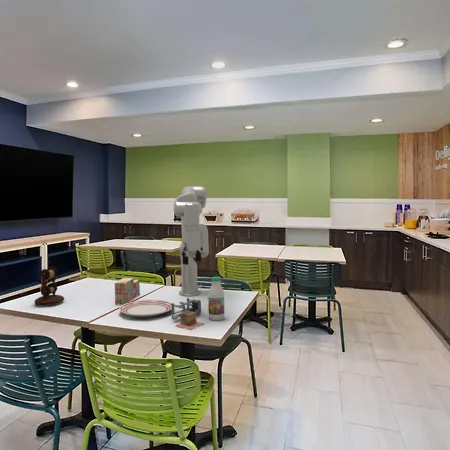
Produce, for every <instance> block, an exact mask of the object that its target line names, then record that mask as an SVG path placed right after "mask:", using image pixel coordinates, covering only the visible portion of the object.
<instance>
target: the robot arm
mask: <svg viewBox="0 0 450 450" xmlns="http://www.w3.org/2000/svg"><path fill="white" fill-rule="evenodd" d="M207 198H208V192H207V189H206V188H205V187H204V186H201V185H200V186H199V185H198V186H196V185H195V186H194V185H189V186H185V187H183V188H182V190H181V194H180V195H178V196H177V197H176V198H175V199H174V202H173V212H174V215H175V216H176V217H177V218H180V219H181V221H180V222H181V224H180V225H181V244H179V248H178V250H179V257H180V266H181V267H180V270H181V271H180V272H181V290H180V291H179V292H178V295H180V296H183V297H193V296H194V297H195V296H198V295H200V294H201V291H200V290H199V289H201V288H202V284H199V285H198V264H197V262H202V258H206V257H208V256H209V253H210V252H209V250H210V249H209V246H210V245H209V230H208V227H207V224H205V223H200V216H201V214H202V213H203V209H204V208H206V205H207ZM194 259H195V260H194Z"/></svg>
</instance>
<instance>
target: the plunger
mask: <svg viewBox="0 0 450 450" xmlns="http://www.w3.org/2000/svg"><path fill="white" fill-rule="evenodd" d="M194 300H195V301H198V300H199V299H197V300H196V299H194ZM201 301H202V300H200V314H202V302H201ZM191 304H193V306H191V307H189V309H187V310H185V311H192V312H195V310H196V309H197V310H198V303H195V302H192V303H191ZM182 312H183V311H182ZM182 312H179V313H176V314H174V315H172V314H171V320H175V319H177V318H180V313H182Z"/></svg>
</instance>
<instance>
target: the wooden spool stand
mask: <svg viewBox="0 0 450 450" xmlns="http://www.w3.org/2000/svg"><path fill="white" fill-rule="evenodd" d="M56 275H57V269H56V268H55V266H49V267H48V268H47V269H46V268H44V269H42V270H40V272H39V276H40V278H41V282H40V283H41V284H40V285H41V286H40V294H41V296H38V298H36V299H35V300H34V304H35V307H37V306H38V305H39V306H47V305H51V306H52V307H54V306H55V304H59V303H61V302H64V300H65V297H64V296H62V295H60V294H56V293H57V291H58V286H57V284H56V283H55V281H56Z"/></svg>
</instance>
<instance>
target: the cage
mask: <svg viewBox="0 0 450 450" xmlns="http://www.w3.org/2000/svg"><path fill="white" fill-rule="evenodd" d="M195 300H196V299H190V298H189V297H187V298H186V302H184V301H179V303H178V304H179V305H177V304H175V303H174V302H171V303H172V309H171V316H172V315H174V314H176V313H179V312H182V311H183V312H185V310H187V309H189V308H190V307H192V306H193V304H192V302H195V303H198V310H197V309H196V310H195V312H196V316H197V317H199V316H201V313H200V301H201V300H200V299H197V300H198V301H195ZM175 308H179V309H180V310H179V311H175Z"/></svg>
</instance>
